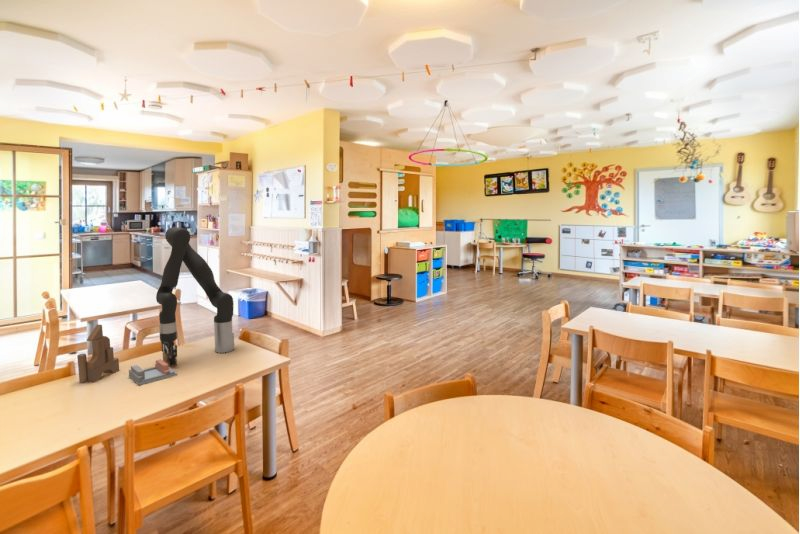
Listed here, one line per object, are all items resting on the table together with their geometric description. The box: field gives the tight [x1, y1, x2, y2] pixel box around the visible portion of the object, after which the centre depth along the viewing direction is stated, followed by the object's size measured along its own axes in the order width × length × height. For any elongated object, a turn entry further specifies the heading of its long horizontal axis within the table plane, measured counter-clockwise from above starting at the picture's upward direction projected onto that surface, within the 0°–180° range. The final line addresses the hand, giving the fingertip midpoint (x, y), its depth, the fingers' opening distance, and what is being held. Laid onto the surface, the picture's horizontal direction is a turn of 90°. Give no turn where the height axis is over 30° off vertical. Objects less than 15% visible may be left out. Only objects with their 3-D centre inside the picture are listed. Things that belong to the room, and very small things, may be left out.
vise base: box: [128, 364, 178, 386], centre depth 186 cm, size 16×14×6 cm
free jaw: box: [154, 359, 170, 374], centre depth 189 cm, size 2×13×4 cm, turn 50°
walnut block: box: [162, 352, 178, 368], centre depth 200 cm, size 4×5×6 cm
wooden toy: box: [77, 324, 120, 384], centre depth 183 cm, size 15×7×25 cm, turn 172°
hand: (169, 362), depth 200 cm, fingers open, 7 cm apart
